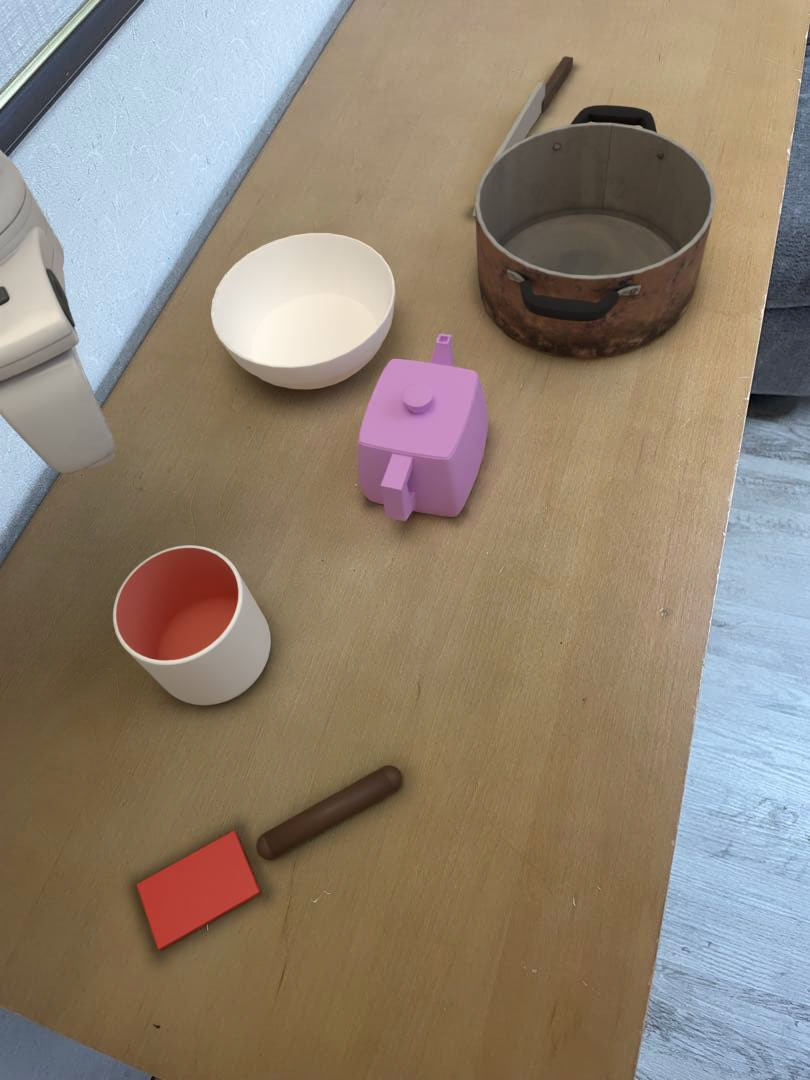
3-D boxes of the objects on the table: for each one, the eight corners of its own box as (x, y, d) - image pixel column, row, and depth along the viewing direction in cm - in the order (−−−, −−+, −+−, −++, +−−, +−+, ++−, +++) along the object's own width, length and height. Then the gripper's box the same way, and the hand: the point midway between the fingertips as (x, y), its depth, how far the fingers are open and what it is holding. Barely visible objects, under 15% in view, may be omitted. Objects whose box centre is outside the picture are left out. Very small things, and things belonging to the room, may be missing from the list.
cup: (144, 633, 74) (96, 581, 65) (248, 582, 75) (215, 524, 67) (181, 731, 69) (134, 688, 60) (292, 674, 70) (262, 624, 62)
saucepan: (512, 179, 99) (512, 92, 90) (710, 198, 94) (731, 107, 85) (445, 372, 85) (438, 292, 76) (673, 407, 80) (694, 325, 71)
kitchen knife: (566, 38, 106) (468, 182, 93) (574, 40, 106) (478, 184, 93) (563, 72, 110) (470, 215, 97) (572, 73, 109) (478, 217, 96)
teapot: (402, 380, 85) (390, 305, 76) (505, 396, 83) (504, 320, 74) (345, 529, 77) (324, 464, 68) (457, 552, 75) (450, 488, 66)
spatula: (160, 950, 61) (150, 948, 59) (139, 885, 63) (128, 881, 61) (417, 804, 64) (414, 798, 62) (387, 747, 66) (383, 740, 65)
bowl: (199, 388, 88) (175, 339, 81) (283, 270, 95) (268, 217, 89) (355, 438, 82) (342, 389, 76) (431, 308, 90) (425, 254, 84)
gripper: (-111, 177, 52) (4, 337, 64) (-43, 395, 42) (79, 536, 54) (-13, 139, 53) (83, 303, 65) (77, 342, 43) (171, 492, 55)
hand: (82, 410), depth 59 cm, fingers open, 8 cm apart
